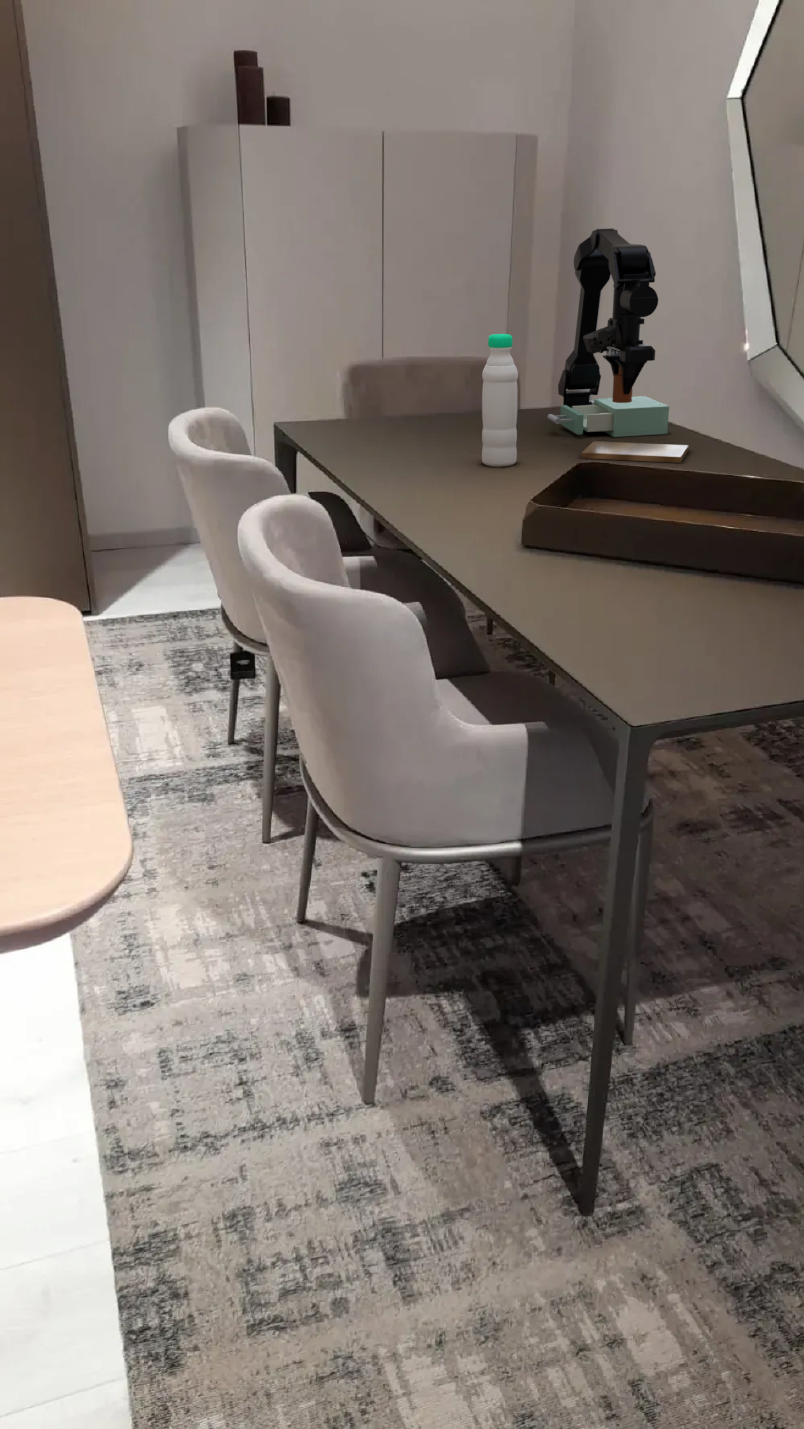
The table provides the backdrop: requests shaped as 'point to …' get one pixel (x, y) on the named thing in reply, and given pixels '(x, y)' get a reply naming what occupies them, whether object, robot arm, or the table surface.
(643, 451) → the board
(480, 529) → the table surface
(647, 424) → the cabinet
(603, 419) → the drawer
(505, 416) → the water bottle
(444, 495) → the table surface
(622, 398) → the bottle
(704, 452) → the table surface
